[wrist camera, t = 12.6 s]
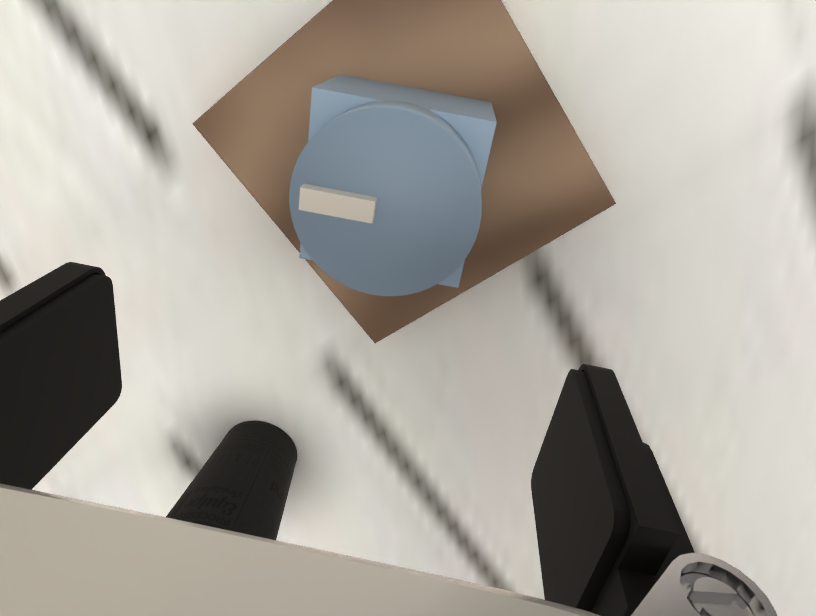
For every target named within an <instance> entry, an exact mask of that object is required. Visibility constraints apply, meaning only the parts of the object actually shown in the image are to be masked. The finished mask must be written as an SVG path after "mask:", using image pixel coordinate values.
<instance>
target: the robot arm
mask: <svg viewBox="0 0 816 616" xmlns="http://www.w3.org/2000/svg"><path fill="white" fill-rule="evenodd" d="M121 389H122V380H121V369H120V359H119V348H118V337H117V326H116V316H115V305H114V294H113V284H112V281H111V279H110V278H109V277H108V276H106V275H105V273H104V271H103V270H102V269H101V268H99V267H94V266H89V265H84V264H79V263H74V262H69V263H66V264H64V265H62V266H60V267H59V268H57V269H55V270H53V271H52V272H50V273H48V274H46V275H45V276H43V277H41V278H39V279H37V280H36V281H34V282H32V283H30V284H29V285H27V286H25V287H23V288H22V289H20V290H18V291H16V292H15V293H13V294H11V295H9V296H8V297H6V298H4V299H2V300H1V301H0V616H777V614H776V611H775V609H774V608H773V606H772V604H771V603H770V601H769V599H768V598H767V596H766V595H765V594H764V593H763V592H762V591H761V590H760V588H759V587H758V586H757V585H756V584H755V583H754V582H753V581H752V580H751V579H749V578H748V577H747V576H746V575H744V574H743V573H742V572H741V571H740V570H738V569H736V568H735V567H733V566H731V565H729V564H728V563H726V562H724V561H722V560H720V559H717V558H714V557H712V556H709V555H705V554H698V553H695V552H694V550H693V547H692V545H691V543H690V540H689V538H688V536H687V533H686V531H685V528H684V526H683V524H682V521H681V519H680V516H679V514H678V512H677V509H676V507H675V505H674V502H673V500H672V497H671V495H670V493H669V490H668V488H667V485H666V483H665V481H664V478H663V476H662V474H661V471H660V469H659V466H658V464H657V462H656V459H655V457H654V455H653V452H652V450H651V449H650V447H649V445H647V444H645V443H643V442H642V440H641V437H640V435H639V432H638V430H637V428H636V425H635V423H634V420H633V418H632V415H631V413H630V410H629V408H628V405H627V403H626V400H625V398H624V395H623V393H622V391H621V388H620V386H619V383H618V381H617V378H616V376H615V373H614V372H613V370H611V369H606V368H601V367H596V366H591V365H586V364H583V365H581V367H580V368H579V370H574V369H571V370H570V371H569V373H568V375H567V378H566V380H565V383H564V386H563V389H562V392H561V394H560V397H559V400H558V403H557V405H556V408H555V411H554V414H553V416H552V419H551V422H550V425H549V427H548V430H547V433H546V436H545V439H544V441H543V444H542V447H541V450H540V452H539V455H538V458H537V461H536V463H535V466H534V469H533V473H532V480H531V490H532V498H533V506H534V514H535V522H536V531H537V539H538V547H539V555H540V563H541V571H542V580H543V588H544V596H545V600H543V599H539V598H535V597H531V596H527V595H523V594H519V593H515V592H511V591H507V590H503V589H498V588H493V587H489V586H484V585H479V584H474V583H470V582H466V581H461V580H457V579H453V578H448V577H444V576H440V575H435V574H430V573H426V572H421V571H416V570H412V569H407V568H402V567H398V566H393V565H388V564H384V563H379V562H374V561H370V560H365V559H361V558H356V557H351V556H347V555H342V554H337V553H333V552H328V551H323V550H319V549H314V548H309V547H305V546H300V545H295V544H291V543H286V542H281V541H276V540H272V539H267V538H262V537H257V536H253V535H248V534H243V533H238V532H234V531H229V530H224V529H219V528H214V527H210V526H205V525H200V524H195V523H191V522H186V521H181V520H176V519H171V518H166V517H162V516H157V515H152V514H147V513H142V512H138V511H133V510H128V509H123V508H118V507H113V506H109V505H104V504H99V503H94V502H89V501H84V500H79V499H74V498H69V497H64V496H59V495H54V494H49V493H44V492H40V491H35V490H32V489H33V487H34V486H35V485H36V484H37V483H38V482H39V481H40V480H41V479H42V478H43V477H44V476H45V475H46V474H47V473H48V472H49V471H50V470H51V469H52V468H53V467H54V466H55V465H56V464H57V463H58V462H59V461H60V460H61V459H62V458H63V456H64V455H65V454H66V453H67V452H68V451H69V450H70V449H71V448H72V447H73V446H74V445H75V444H76V443H77V442H78V441H79V440H80V439H81V438H82V437H83V436H84V435H85V434H86V433H87V432H88V431H89V430H90V429H91V428H92V427H93V425H94V424H95V423H96V422H97V421H98V420H99V419H100V418H101V417H102V416H103V415H104V414H105V413H106V412H107V411H108V410H109V409H110V408H111V407H112V406H113V405H114V404H115V403H116V401H117V400H118V398H119V396H120V393H121Z"/></svg>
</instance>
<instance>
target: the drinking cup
mask: <svg viewBox="0 0 816 616" xmlns="http://www.w3.org/2000/svg"><path fill="white" fill-rule="evenodd" d="M296 460H297V451H296V447H295V445H294V443H293V441H292V440H291V438H290V437H289V436H288V435H287V434H286V433H285V432H283V431H282V430H281V429H279V428H277V427H275V426H273V425H271V424H268V423H265V422H259V421H249V422H244V423H241V424H238V425H236V426H235V427H233V428H232V429H231V430H230V431H229V432H228V434H227V435H226V436H225V438H224V439H223V440H222V442H221V443H220V445H219V446H218V447H217V449H216V450H215V451H214V453H213V454H212V455H211V457H210V458H209V459H208V461H207V462H206V463H205V465H204V466H203V468H202V469H201V470H200V472H199V473H198V474H197V476H196V477H195V478H194V480H193V481H192V482H191V484H190V485H189V486H188V488H187V489H186V491H185V492H184V493H183V495H182V496H181V497H180V499H179V500H178V501H177V503H176V504H175V505H174V507H173V508H172V509H171V511H170V512H169V514H168V515H167V516H166V518H171V519H176V520H181V521H186V522H191V523H195V524H200V525H205V526H210V527H214V528H219V529H224V530H229V531H234V532H238V533H243V534H248V535H253V536H257V537H262V538H267V539H272V540H276V538H277V534H278V530H279V526H280V522H281V519H282V515H283V511H284V507H285V503H286V499H287V495H288V491H289V488H290V484H291V480H292V476H293V472H294V468H295V464H296Z"/></svg>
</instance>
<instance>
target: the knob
mask: <svg viewBox="0 0 816 616" xmlns="http://www.w3.org/2000/svg"><path fill="white" fill-rule="evenodd" d="M496 123H497V121H496V117H495V114H494V110H493V106H492V102H488V101H482V100H477V99H472V98H466V97H461V96H456V95H450V94H445V93H440V92H434V91H429V90H424V89H418V88H413V87H408V86H402V85H397V84H392V83H386V82H381V81H376V80H370V79H365V78H360V77H354V76H349V75H344V74H340V75H338V76H336V77H333V78H331V79H329V80H327V81H325V82H323V83H321V84H318V85H316V86H314V87H312V95H311V109H310V122H309V136H308V143H307V144H306V146H305V147H304V149H303V151H302V152H301V154H300V155H299V157H298V160H297V162H296V164H295V167H294V170H293V173H292V177H291V182H290V190H289V205H290V213H291V218H292V222H293V225H294V229H295V231H296V234H297V236H298V238H299V240H300V242H301V244H300V258H303V259H309V260H313V261H314V262H315V263H316V264H317V265H318V266H319V268H321V269H322V270H323V271H324V272H325V273H326V274H328V275H329V276H330V277H332V278H333V279H335V280H336V281H338V282H339V283H341V284H343V285H345V286H347V287H349V288H352V289H354V290H357V291H359V292H363V293H367V294H371V295H378V296H403V295H409V294H413V293H418V292H420V291H423V290H426V289H429V288H431V287H432V286H434V285H436V284H440V285H445V286H451V287H456V288H458V287H459V283H460V278H461V274H462V270H463V265H464V261H465V258H466V257H467V255H468V254H469V252H470V251H471V249H472V247H473V245H474V242H475V240H476V237H477V234H478V231H479V228H480V222H481V216H482V198H481V188H482V183H483V179H484V175H485V170H486V166H487V162H488V158H489V153H490V149H491V145H492V140H493V136H494V132H495V127H496Z"/></svg>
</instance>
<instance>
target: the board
mask: <svg viewBox="0 0 816 616" xmlns="http://www.w3.org/2000/svg"><path fill="white" fill-rule="evenodd" d="M340 74H344V75H349V76H354V77H360V78H365V79H370V80H376V81H381V82H386V83H392V84H397V85H402V86H408V87H413V88H418V89H424V90H429V91H434V92H440V93H445V94H450V95H456V96H461V97H466V98H472V99H477V100H482V101H488V102H492V106H493V110H494V114H495V117H496V121H497V123H496V127H495V132H494V136H493V140H492V145H491V149H490V153H489V158H488V162H487V166H486V170H485V175H484V179H483V183H482V188H481V198H482V216H481V222H480V228H479V231H478V234H477V237H476V240H475V242H474V245H473V247H472V249H471V251H470V252H469V254H468V255H467V257H466V258H465V261H464V265H463V270H462V274H461V278H460V283H459V287H458V288H456V287H451V286H445V285H440V284H436V285H434V286H432V287H431V288H429V289H426V290H423V291H420V292H418V293H413V294H409V295H403V296H378V295H371V294H367V293H363V292H359V291H357V290H354V289H352V288H349V287H347V286H345V285H343V284H341V283H339V282H338V281H336V280H335V279H333V278H332V277H330V276H329V275H328V274H326V273H325V272H324V271H323V270H322V269H321V268H319V266H318V265H317V264H316V263H315V262H314V261H313V260H309V259H305V260H306V261H307V262H308V263H309V264H310V266H311V267H312V268H313V269H314V270H315V272H316V273H317V274H318V275H319V276H320V278H321V279H322V280H323V281H324V282H325V284H326V285H327V286H328V287H329V289H330V290H331V291H332V292H333V293H334V295H335V296H336V297H337V298H338V299H339V301H340V302H341V303H342V304H343V305H344V307H345V308H346V309H347V310H348V311H349V313H350V314H351V315H352V316H353V317H354V319H355V320H356V321H357V322H358V323H359V325H360V326H361V327H362V328H363V329H364V331H365V332H366V333H367V334H368V335H369V337H370V338H371V339H372V340H373V341H374V343H376V342H378V341H380V340H382V339H383V338H385V337H387V336H388V335H390V334H392V333H394V332H395V331H397V330H399V329H401V328H402V327H404V326H406V325H407V324H409V323H411V322H413V321H414V320H416V319H418V318H419V317H421V316H423V315H425V314H426V313H428V312H430V311H432V310H433V309H435V308H437V307H438V306H440V305H442V304H444V303H445V302H447V301H449V300H451V299H452V298H454V297H456V296H457V295H459V294H461V293H463V292H464V291H466V290H468V289H469V288H471V287H473V286H475V285H476V284H478V283H480V282H482V281H483V280H485V279H487V278H488V277H490V276H492V275H494V274H495V273H497V272H499V271H501V270H502V269H504V268H506V267H507V266H509V265H511V264H513V263H514V262H516V261H518V260H520V259H521V258H523V257H525V256H526V255H528V254H530V253H532V252H533V251H535V250H537V249H538V248H540V247H542V246H544V245H545V244H547V243H549V242H551V241H552V240H554V239H556V238H557V237H559V236H561V235H563V234H564V233H566V232H568V231H570V230H571V229H573V228H575V227H576V226H578V225H580V224H582V223H583V222H585V221H587V220H589V219H590V218H592V217H594V216H595V215H597V214H599V213H601V212H602V211H604V210H606V209H607V208H609V207H611V206H613V205H614V204H616V203H615V201H614V199H613V198H612V196H611V194H610V192H609V190H608V189H607V187H606V185H605V183H604V182H603V180H602V178H601V176H600V175H599V173H598V171H597V169H596V167H595V166H594V164H593V162H592V160H591V159H590V157H589V155H588V153H587V152H586V150H585V148H584V146H583V144H582V143H581V141H580V139H579V137H578V136H577V134H576V132H575V130H574V129H573V127H572V125H571V123H570V121H569V120H568V118H567V116H566V114H565V113H564V111H563V109H562V107H561V106H560V104H559V102H558V100H557V99H556V97H555V95H554V93H553V91H552V90H551V88H550V86H549V84H548V83H547V81H546V79H545V77H544V76H543V74H542V72H541V70H540V68H539V67H538V65H537V63H536V61H535V60H534V58H533V56H532V54H531V53H530V51H529V49H528V47H527V45H526V44H525V42H524V40H523V38H522V37H521V35H520V33H519V31H518V30H517V28H516V26H515V24H514V22H513V21H512V19H511V17H510V15H509V14H508V12H507V10H506V8H505V7H504V5H503V3H502V1H501V0H333V1H332V2H330V3H329V4H328V5H327V6H326V7H325V8H324V9H322V10H321V11H320V12H319V13H318V14H317V15H316V16H314V17H313V18H312V19H311V20H310V21H309V22H308V23H307V24H305V25H304V26H303V27H302V28H301V29H300V30H299V31H297V32H296V33H295V34H294V35H293V36H292V37H291V38H289V39H288V40H287V41H286V42H285V43H284V44H283V45H282V46H280V47H279V48H278V49H277V50H276V51H275V52H274V53H272V54H271V55H270V56H269V57H268V58H267V59H266V60H264V61H263V62H262V63H261V64H260V65H259V66H258V67H257V68H255V69H254V70H253V71H252V72H251V73H250V74H249V75H247V76H246V77H245V78H244V79H243V80H242V81H241V82H239V83H238V84H237V85H236V86H235V87H234V88H233V89H232V90H230V91H229V92H228V93H227V94H226V95H225V96H224V97H222V98H221V99H220V100H219V101H218V102H217V103H216V104H214V105H213V106H212V107H211V108H210V109H209V110H208V111H206V112H205V113H204V114H203V115H202V116H201V117H200V118H199V119H197V120H196V121H195V122H194V123H193V125H194V126H195V127H196V129H197V130H198V131H199V132H200V133H201V135H202V136H203V137H204V138H205V139H206V141H207V142H208V143H209V144H210V145H211V147H212V148H213V149H214V150H215V151H216V153H217V154H218V155H219V156H220V157H221V159H222V160H223V161H224V162H225V163H226V165H227V166H228V167H229V168H230V169H231V171H232V172H233V173H234V174H235V176H236V177H237V178H238V179H239V180H240V182H241V183H242V184H243V185H244V186H245V188H246V189H247V190H248V191H249V192H250V194H251V195H252V196H253V197H254V198H255V200H256V201H257V202H258V203H259V204H260V206H261V207H262V208H263V209H264V210H265V212H266V213H267V214H268V215H269V216H270V218H271V219H272V220H273V221H274V222H275V224H276V225H277V226H278V227H279V228H280V230H281V231H282V232H283V233H284V234H285V236H286V237H287V238H288V239H289V240H290V242H291V243H292V244H293V245H294V246H295V248H296V249H297V250H298V251H299V252H300V244H301V242H300V240H299V238H298V236H297V234H296V231H295V229H294V225H293V222H292V218H291V213H290V205H289V190H290V182H291V177H292V173H293V170H294V167H295V164H296V162H297V160H298V157H299V155H300V154H301V152H302V151H303V149H304V147H305V146H306V144H307V143H308V136H309V122H310V109H311V95H312V87H314V86H316V85H318V84H321V83H323V82H325V81H327V80H329V79H331V78H333V77H336V76H338V75H340Z"/></svg>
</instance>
